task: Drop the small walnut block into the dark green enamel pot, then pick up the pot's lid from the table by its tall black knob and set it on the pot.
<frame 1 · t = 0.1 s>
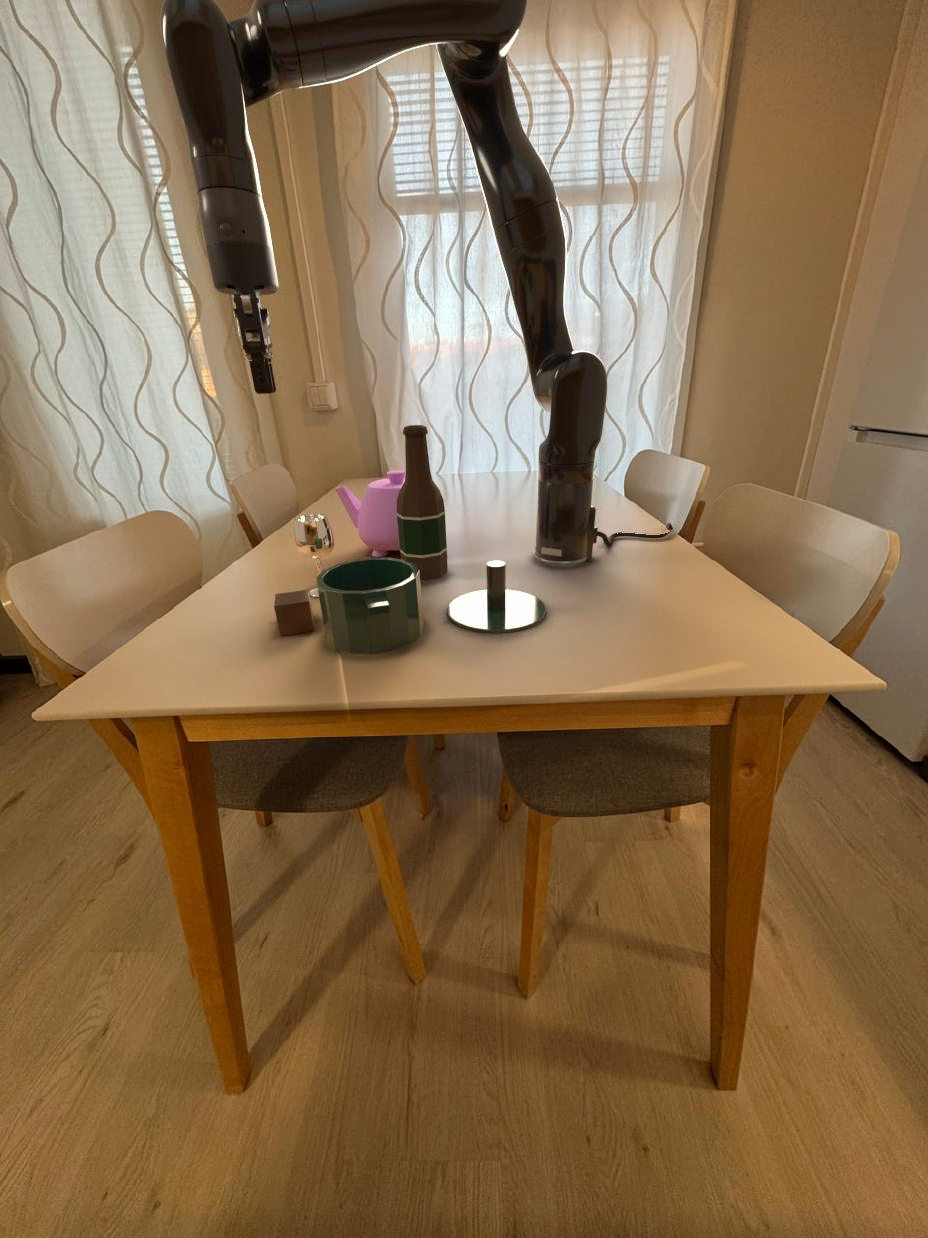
hand: (266, 393, 67), 29 cm above the table, tool pointing down, fingers open, 8 cm apart
teapot: (395, 546, 102), on the table
wineglass: (323, 592, 81), on the table
beer bottle: (425, 576, 86), on the table
lid: (496, 610, 70), point 1 cm above the table
pot: (375, 633, 66), on the table
block: (297, 626, 69), on the table
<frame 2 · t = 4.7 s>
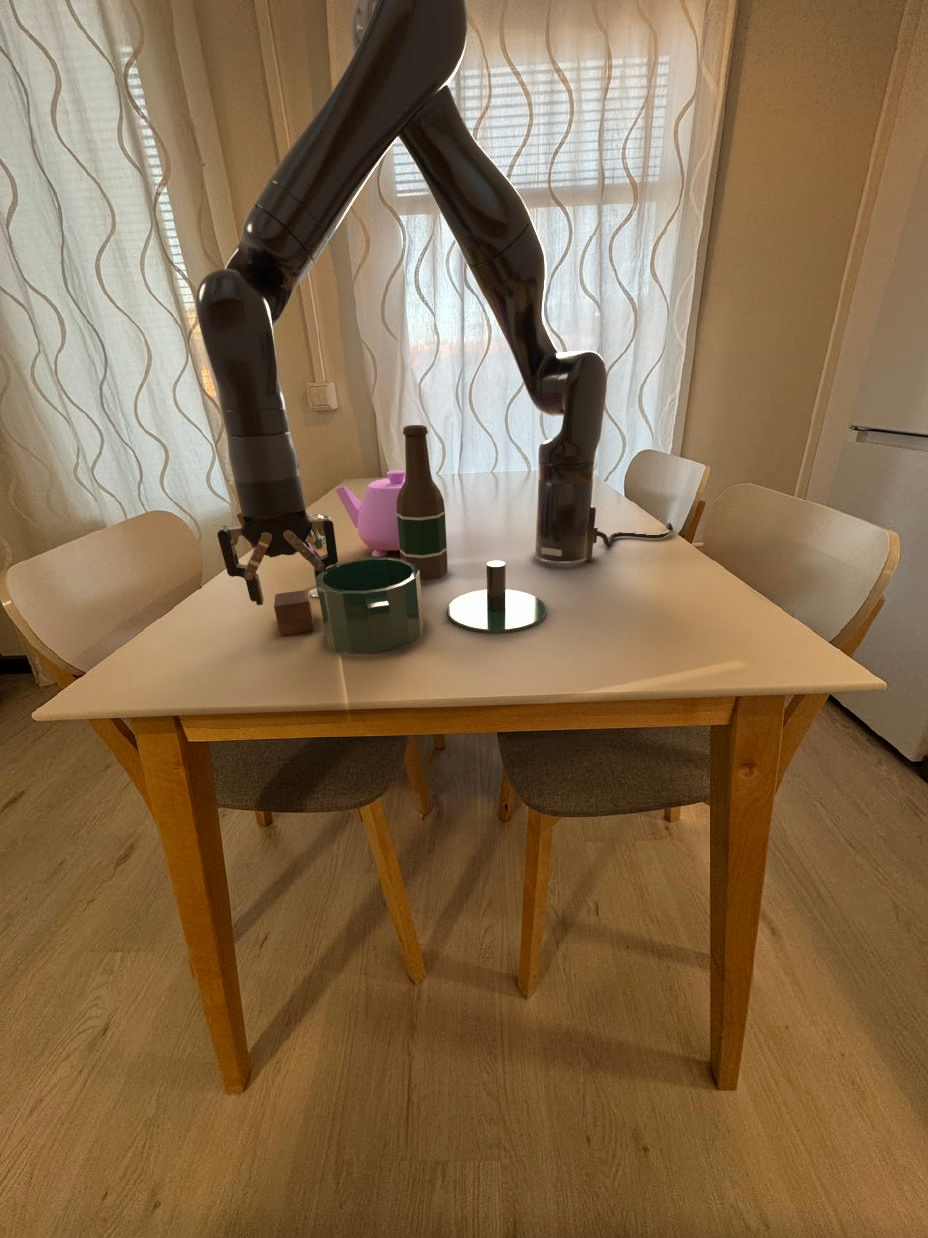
hand: (291, 598, 67), 4 cm above the table, tool pointing down, fingers open, 7 cm apart
nothing on the table moved.
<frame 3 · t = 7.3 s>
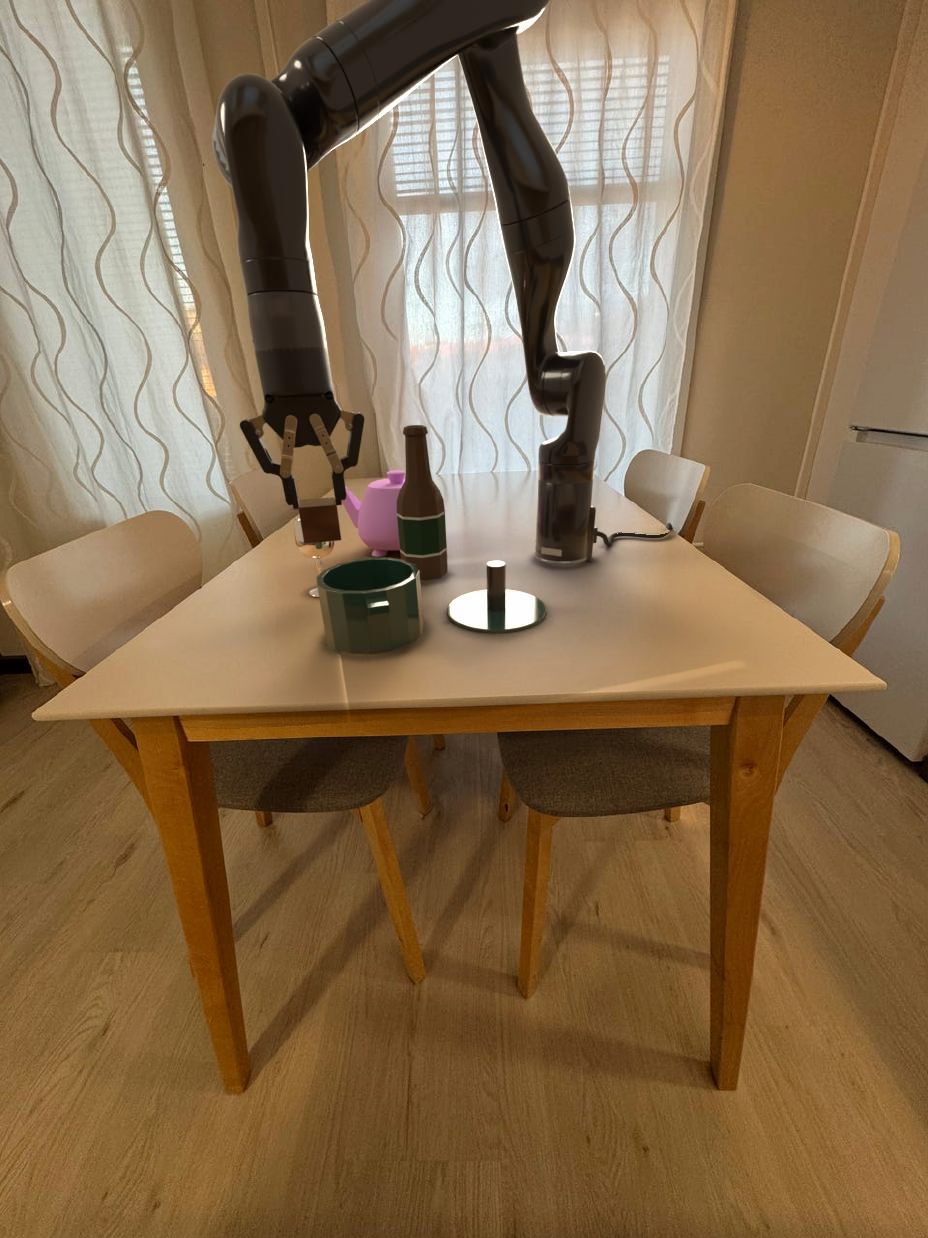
hand: (318, 505, 61), 17 cm above the table, tool pointing down, fingers closed on block, 4 cm apart
block: (322, 537, 63), point 13 cm above the table, touching gripper
everything else where it was.
when the fingers open (13 cm above the table, at t = 9.5 s): block drops 9 cm, resting on pot.
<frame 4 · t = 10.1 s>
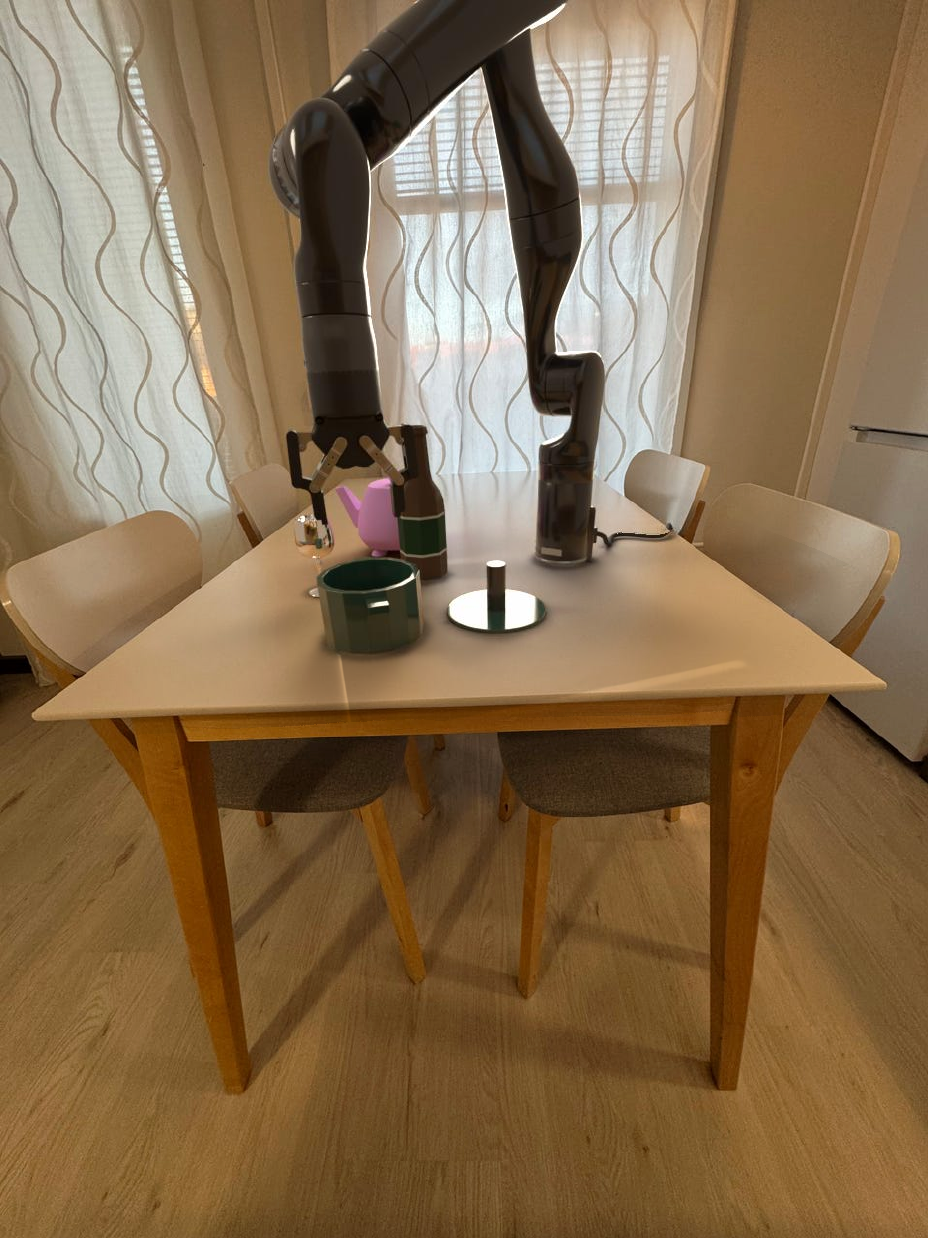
hand: (361, 519, 60), 15 cm above the table, tool pointing down, fingers open, 8 cm apart
block: (375, 629, 66), resting on pot
everything else where it was.
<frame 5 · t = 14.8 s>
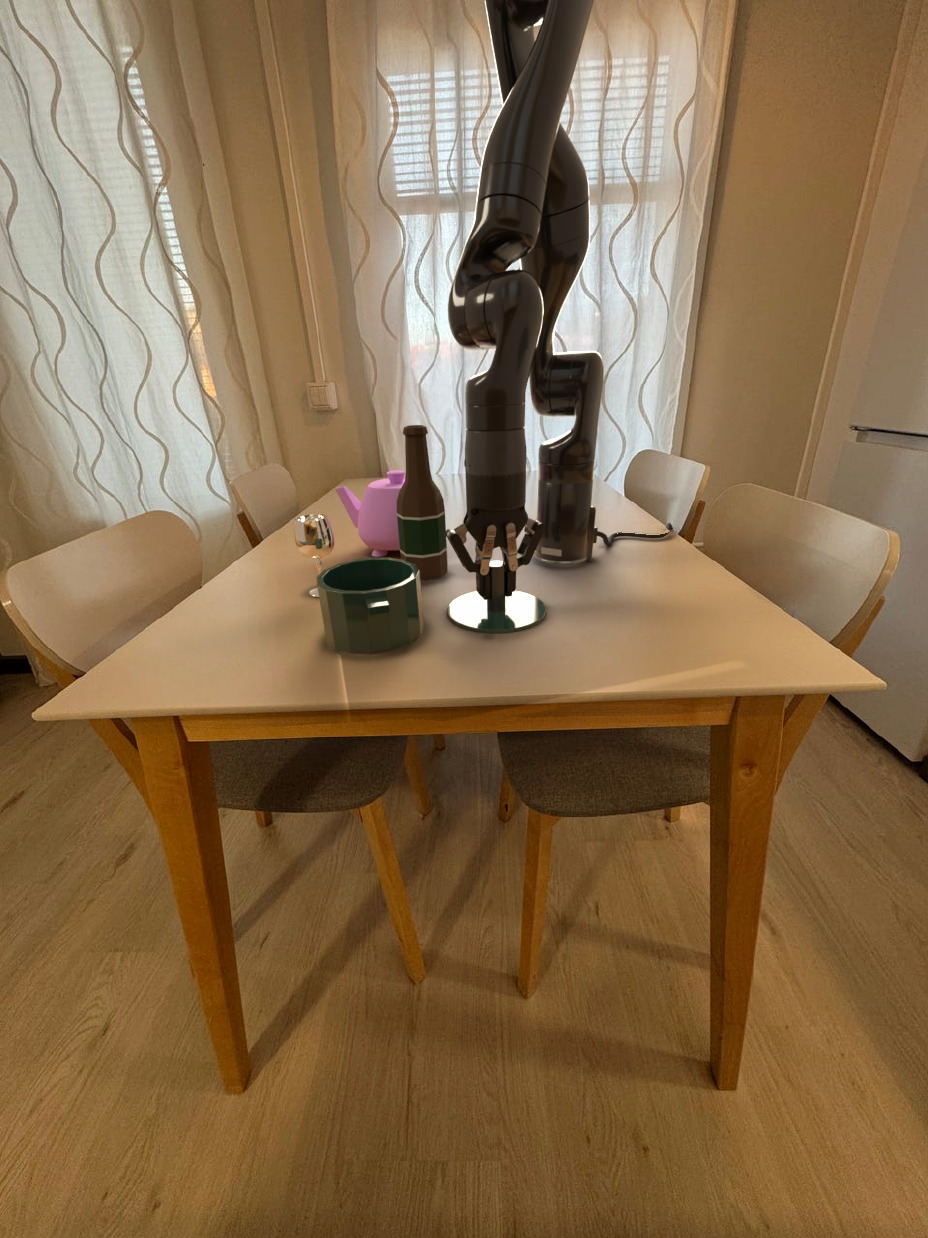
hand: (496, 595, 69), 3 cm above the table, tool pointing down, fingers closed on lid, 2 cm apart
lid: (496, 610, 70), point 1 cm above the table, touching gripper
everything else where it was.
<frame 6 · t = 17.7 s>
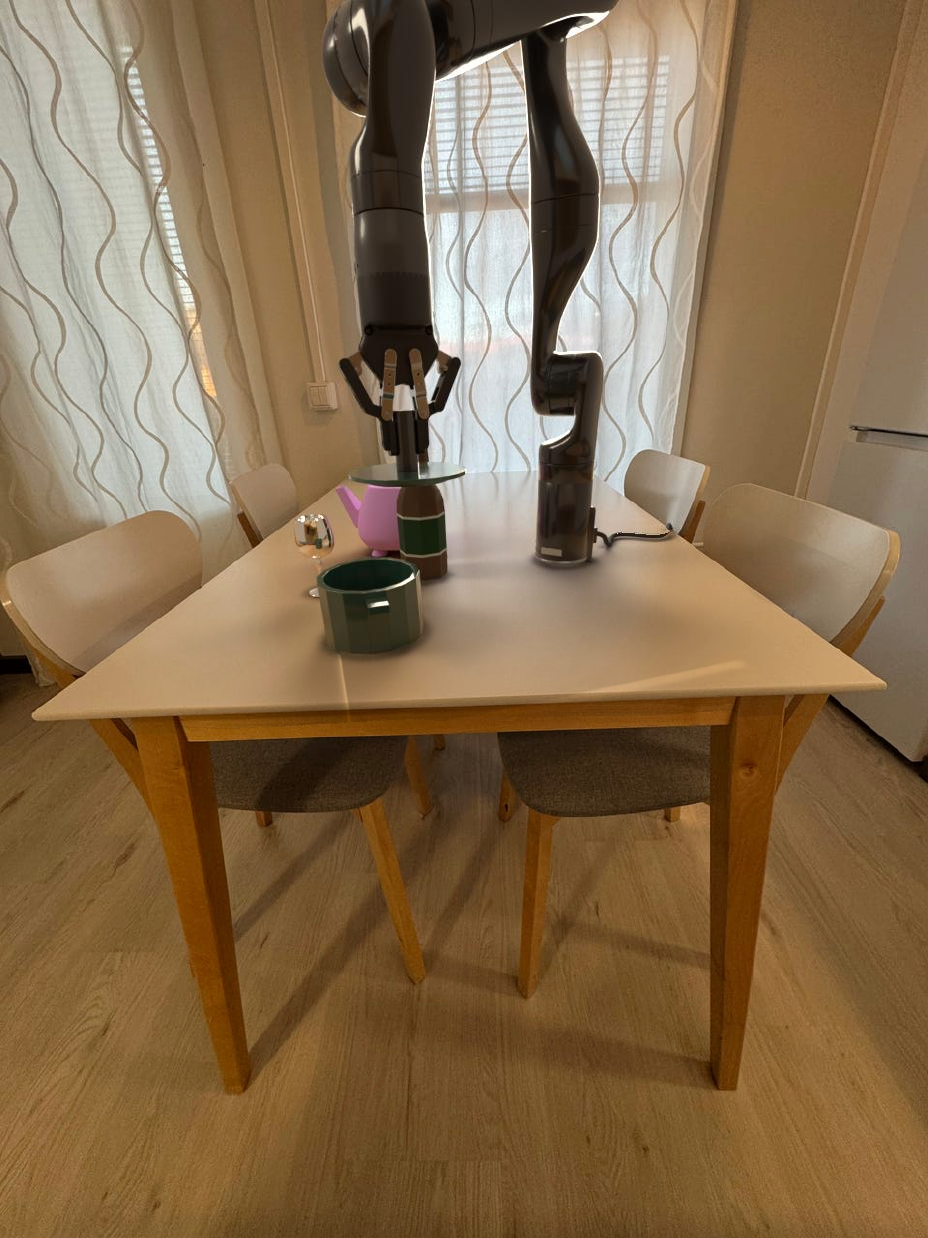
hand: (406, 453, 58), 23 cm above the table, tool pointing down, fingers closed on lid, 2 cm apart
lid: (408, 474, 59), point 20 cm above the table, touching gripper
everything else where it was.
when the fingers open (11 cm above the table, at t = 21.0 s): lid stays where it is, resting on pot.
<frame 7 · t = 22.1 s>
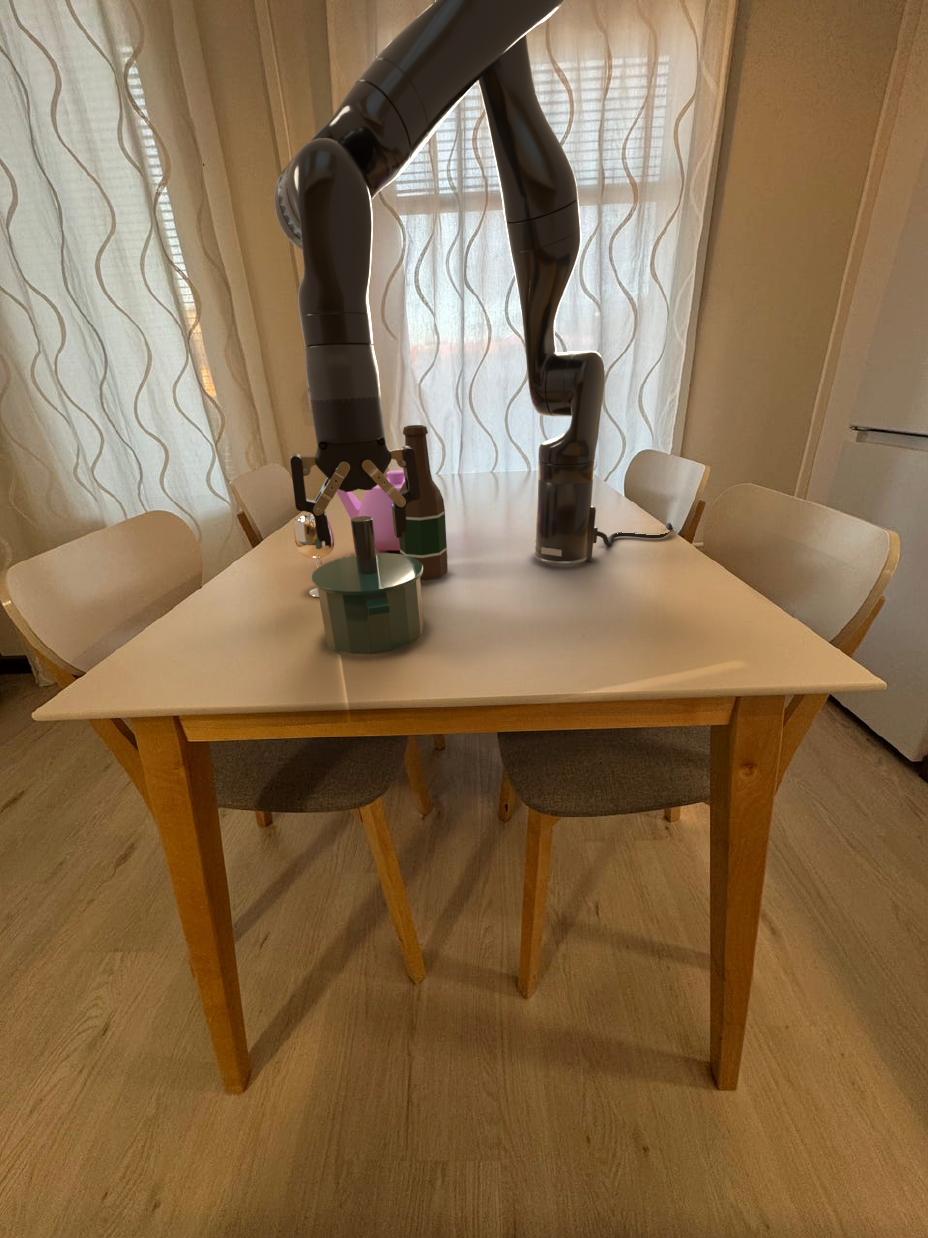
hand: (364, 540, 61), 13 cm above the table, tool pointing down, fingers open, 8 cm apart
lid: (368, 573, 63), point 8 cm above the table, touching pot
everything else where it was.
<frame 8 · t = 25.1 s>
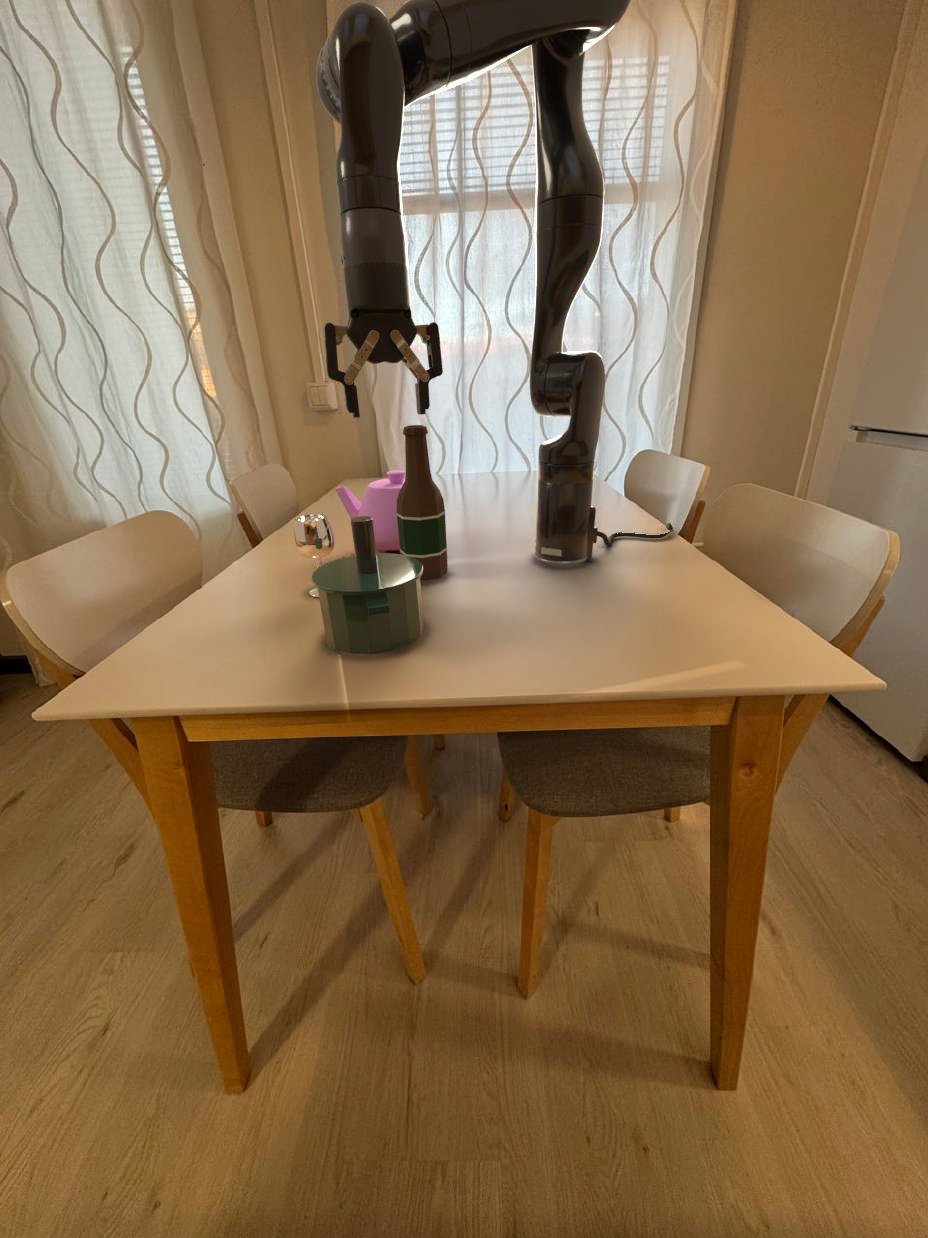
hand: (389, 415, 65), 26 cm above the table, tool pointing down, fingers open, 8 cm apart
nothing on the table moved.
at the end: block inside the target area in the pot (0.3 cm from its centre), point 0.5 cm above the pot's base; lid 0.1 cm off-centre on the pot, point 8.5 cm above the pot's base; lid tilted 0° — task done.
